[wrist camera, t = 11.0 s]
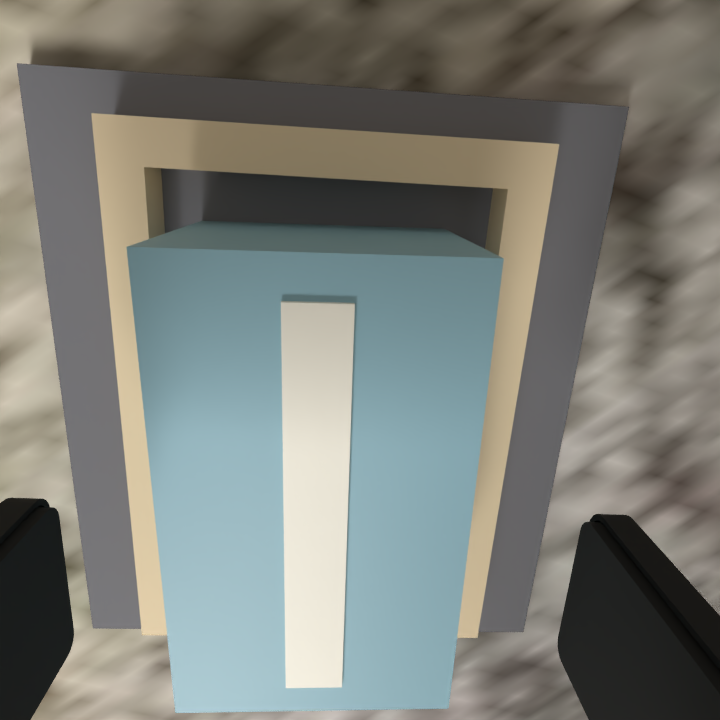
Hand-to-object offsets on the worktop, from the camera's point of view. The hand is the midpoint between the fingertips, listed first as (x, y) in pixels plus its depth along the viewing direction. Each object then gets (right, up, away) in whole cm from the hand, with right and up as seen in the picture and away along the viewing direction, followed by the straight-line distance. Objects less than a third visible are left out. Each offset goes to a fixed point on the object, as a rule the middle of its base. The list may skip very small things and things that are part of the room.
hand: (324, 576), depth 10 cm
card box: (0, +2, +5) cm, 6 cm away
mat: (0, +3, +6) cm, 6 cm away
